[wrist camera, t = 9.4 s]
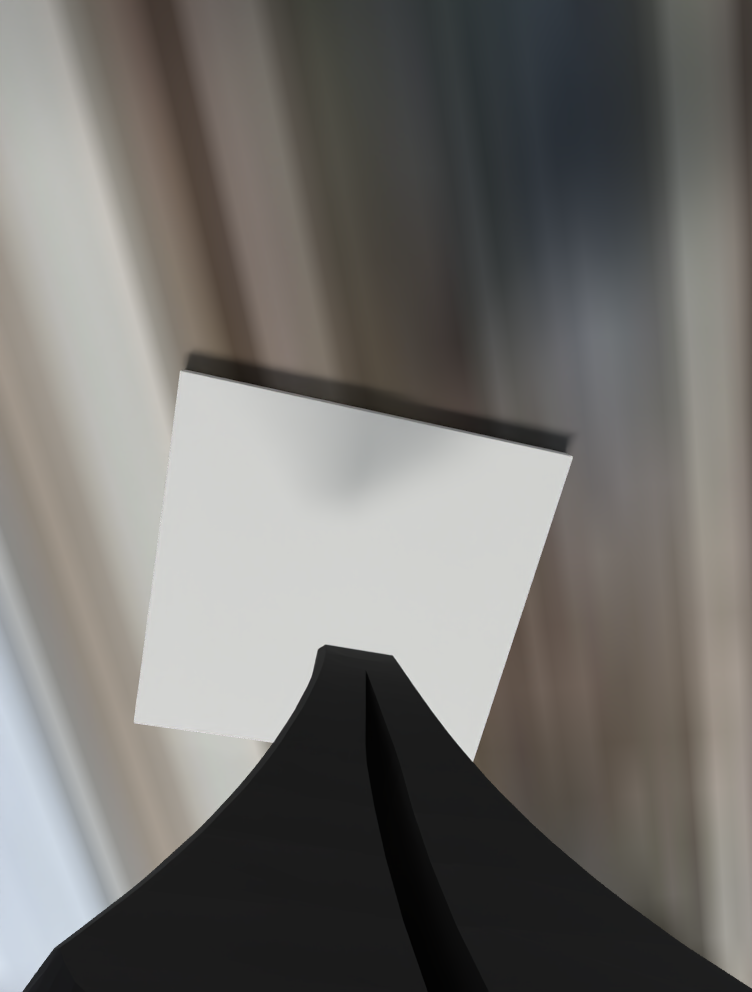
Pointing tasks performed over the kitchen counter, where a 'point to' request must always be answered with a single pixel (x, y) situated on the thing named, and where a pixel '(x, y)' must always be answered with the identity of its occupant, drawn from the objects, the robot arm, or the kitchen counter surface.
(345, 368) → the kitchen counter surface
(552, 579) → the kitchen counter surface
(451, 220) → the kitchen counter surface
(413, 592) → the mat
